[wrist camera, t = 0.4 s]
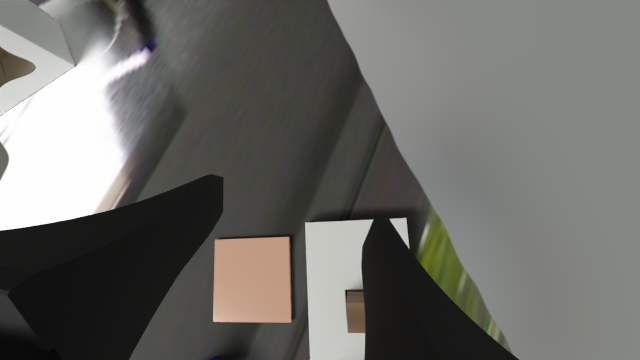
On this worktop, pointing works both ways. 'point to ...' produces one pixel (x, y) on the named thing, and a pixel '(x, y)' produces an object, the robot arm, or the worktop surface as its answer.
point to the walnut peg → (355, 311)
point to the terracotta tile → (252, 280)
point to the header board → (336, 284)
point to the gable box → (29, 51)
